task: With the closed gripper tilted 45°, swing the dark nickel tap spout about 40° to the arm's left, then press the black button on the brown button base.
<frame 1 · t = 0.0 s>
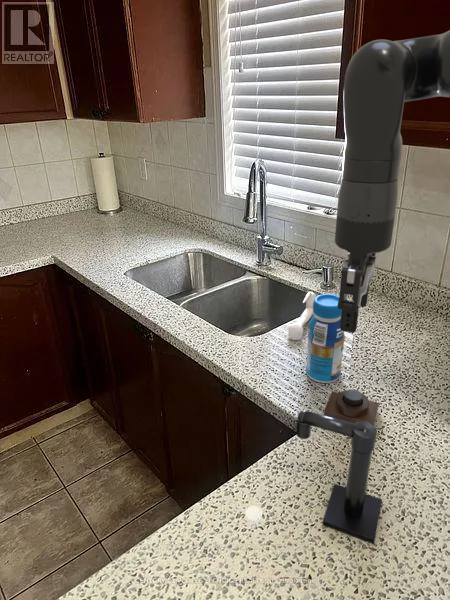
hand: (353, 317, 67), 32 cm above the worktop, tool pointing down, fingers open, 8 cm apart
brown button base: (350, 414, 95), on the worktop
spout: (334, 431, 68), point 16 cm above the worktop, hinge at 0.0°
beverage bottle: (323, 374, 108), on the worktop
tap body: (352, 514, 73), on the worktop
pump button: (352, 398, 93), point 4 cm above the worktop, slide at 0.1 cm
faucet: (303, 325, 129), on the worktop
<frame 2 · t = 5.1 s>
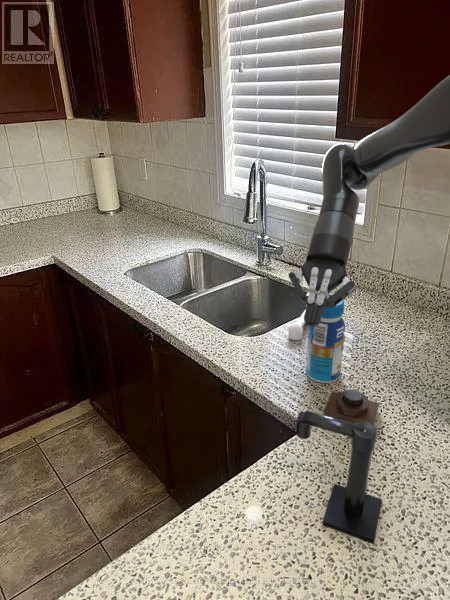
hand: (310, 325, 81), 24 cm above the worktop, tool tilted 45°, fingers closed
nothing on the worktop moved.
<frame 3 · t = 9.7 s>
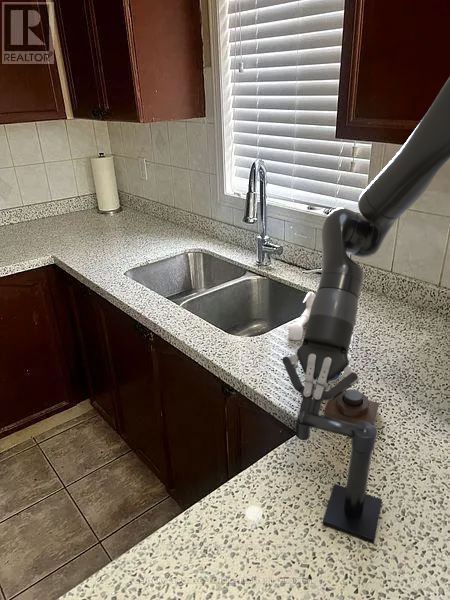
hand: (306, 422, 71), 15 cm above the worktop, tool tilted 45°, fingers closed
spout: (334, 432, 68), point 16 cm above the worktop, hinge at 2.1°, touching gripper
everything else where it was.
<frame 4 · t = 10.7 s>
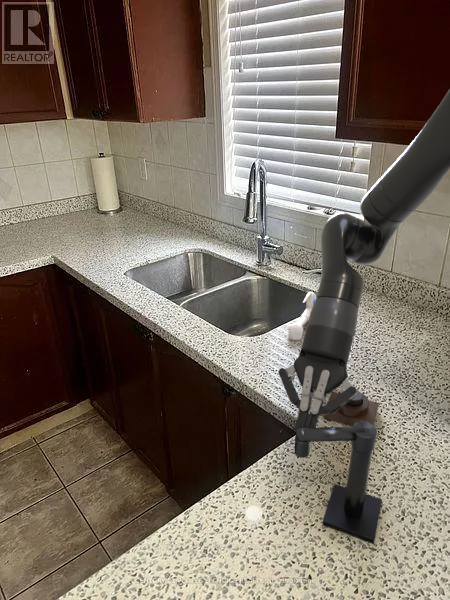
hand: (303, 437, 68), 15 cm above the worktop, tool tilted 45°, fingers closed
spout: (334, 440, 66), point 16 cm above the worktop, hinge at 25.3°, touching gripper
everything else where it was.
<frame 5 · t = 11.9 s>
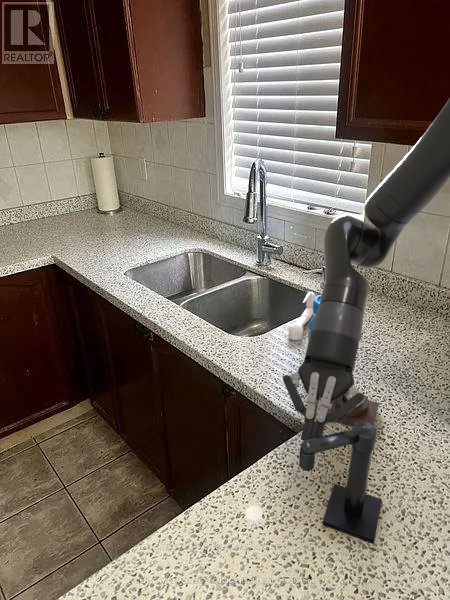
hand: (309, 446, 66), 16 cm above the worktop, tool tilted 45°, fingers closed
spout: (337, 446, 65), point 16 cm above the worktop, hinge at 41.1°
everything else where it was.
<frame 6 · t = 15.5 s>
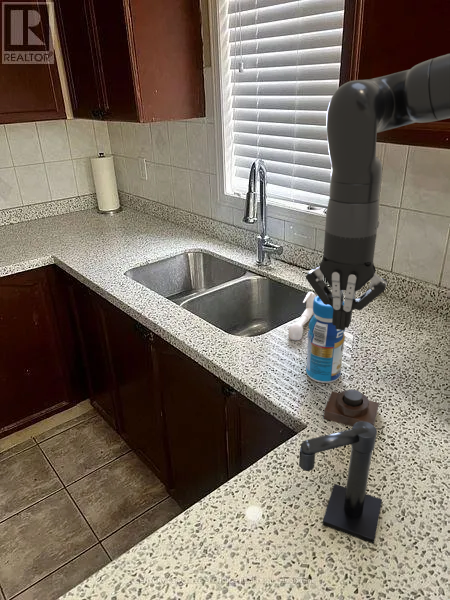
hand: (341, 327, 75), 27 cm above the worktop, tool pointing down, fingers closed
nothing on the worktop moved.
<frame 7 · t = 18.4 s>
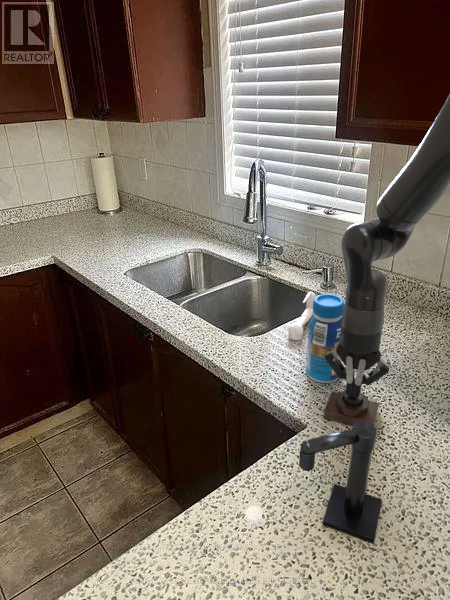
hand: (352, 395, 92), 5 cm above the worktop, tool pointing down, fingers closed
pump button: (352, 399, 93), point 4 cm above the worktop, slide at -0.2 cm, touching gripper
everything else where it was.
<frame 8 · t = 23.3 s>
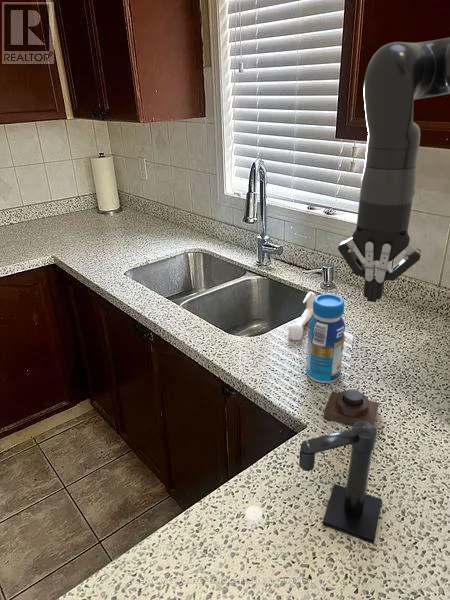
hand: (372, 299, 74), 31 cm above the worktop, tool pointing down, fingers closed
pump button: (352, 398, 93), point 4 cm above the worktop, slide at 0.1 cm
everything else where it was.
at the end: spout at +41° (first picture: +0°); pump button pushed in 1.1 cm at the most during the clip, back to where it started at the end; pump button slide at 0.1 cm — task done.
